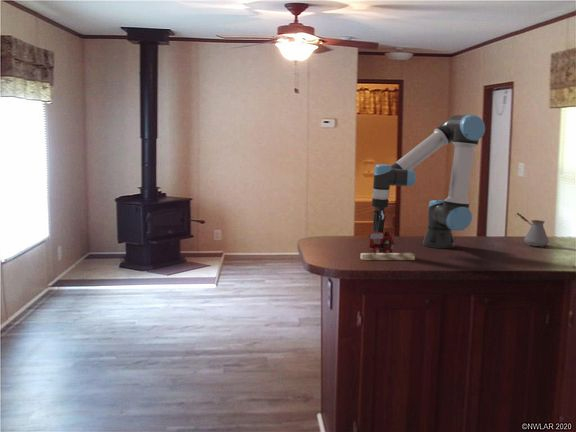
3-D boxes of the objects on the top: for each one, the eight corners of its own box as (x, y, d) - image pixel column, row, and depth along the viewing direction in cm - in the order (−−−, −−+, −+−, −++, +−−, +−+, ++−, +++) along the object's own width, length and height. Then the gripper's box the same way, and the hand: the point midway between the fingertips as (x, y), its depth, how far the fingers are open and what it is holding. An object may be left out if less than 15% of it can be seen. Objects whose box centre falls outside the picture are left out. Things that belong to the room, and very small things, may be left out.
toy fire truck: (395, 255, 271) (397, 234, 268) (369, 256, 269) (371, 234, 266) (390, 250, 278) (392, 229, 275) (364, 250, 275) (366, 229, 272)
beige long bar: (412, 258, 267) (412, 252, 266) (414, 259, 264) (415, 253, 263) (360, 258, 263) (360, 252, 263) (362, 260, 260) (362, 254, 260)
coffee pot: (553, 247, 302) (555, 218, 299) (535, 248, 298) (537, 218, 295) (522, 239, 321) (525, 212, 319) (505, 240, 317) (507, 212, 315)
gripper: (368, 196, 278) (365, 245, 282) (376, 199, 266) (372, 251, 270) (384, 196, 280) (380, 245, 283) (392, 200, 267) (388, 251, 271)
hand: (376, 248), depth 277 cm, fingers closed
